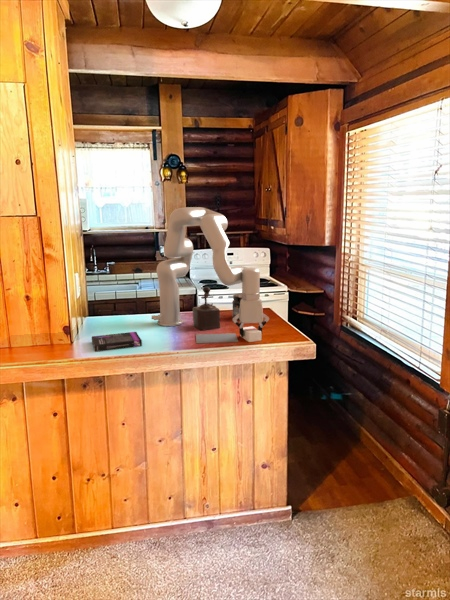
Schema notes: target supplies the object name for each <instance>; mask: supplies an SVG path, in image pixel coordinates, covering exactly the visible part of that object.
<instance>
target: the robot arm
mask: <svg viewBox="0 0 450 600" xmlns="http://www.w3.org/2000/svg"><path fill="white" fill-rule="evenodd" d="M228 224H229V223H228V219H227V218H226V216H225V215H224V214H222V213H220V212H217V211H213V210H212V209H209V208H207V207H201V206H198V207H197V206H193V207H192V206H190V207H189V206H187V207H179V208H176V209H174V210H173V211H172V212H171V214H170V215H169V220H168V228H167V232H166V237H165V242H164V247H163V254H164V256H165V257H166V258H167V259H165V260H162V261H160V262H159V263H158V264H157V266H156V275H157V279H158V287H159V289H158V290H159V308H160V310H159V311H160V312H159V314H157V315H154V314H153V315H151V320H153V321H157V324H158V325H159V326H162V327H175V326H180V325H182V324H183V323H184V319H182V318H181V314H180V312H181V311H180V288H179V286H180V285H179V284H178V282H177V279H179V278H182V277H185V276H186V275H187V274H188V272H189V270H190V266H191V262H192V259H193V254H194V244H193V242H192V240H190V239H189V238H188V237H186V236H187V235H186V233H187V230H186V227H196V226H197V227H198V226H199V227H200V229H201V231H202V233H203V235H204V237H205V240H207V242H208V244H209V245H208V246H209V247H210V249H211V251H212V266H213V269H214V272H215V273H216V275H217V277H218V279H219V281H220V282H221V284H223V285H225V286H226V287H227V286H234V285H237V284H241V293H238V294H239V297H241V298H242V299H241V301H240V309H239V314H238V315H236V316H235V317H234V318H233V317H232V319H231V320H232V322H233V323H234V324H235V325H236V326H237V327H238V328H239V335H241V336H240V337H241V338H242V337H243V327H244V325H245V324H258V327H257V329H258V330H260V331H261V332H262V333H263V328H264V327H265V325H266V324H267V322H269V320H270V317H269V316H268V315H267V314H265V313H264V312H263V310H264V309H263V301H262V299H261V298H260V294H261V293H260V288H261V287H260V283H261V282H260V281H261V280H260V279H261V278H260V277H261V276H260V269H258V268H257V267H246V266H242V265H237V266H232V267H230V264H229V263H228V260H227V256H226V254H227V253H226V252H227V250H228V248H229V247H230V244H231V243H230V240H229V239H228V236H227V234H226V232H225V231H226V230H227V228H228V226H229V225H228ZM238 318H239V320H237V319H238Z"/></svg>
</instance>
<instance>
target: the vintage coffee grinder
mask: <svg viewBox="0 0 450 600" xmlns="http://www.w3.org/2000/svg"><path fill="white" fill-rule="evenodd" d="M202 292H203V293H204V294H203V295H204V296H201V297H200V298H201V299H204V303H203V304H201V305H199V306H194V307H192V321H193V322H192V324H193V327H195V328H196V329H197V330H199V331H209V330H216V329H220V328H221V324H220V323H221V321H220V320H221V315H220V310H221V309H220V308H218V307H217V306H216V305H213V303H212V302H211V303H208V300H207V298H208V297H209V296H211V295H210V292H211V288H210V287H209V286H204V287H203V288H202Z"/></svg>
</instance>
